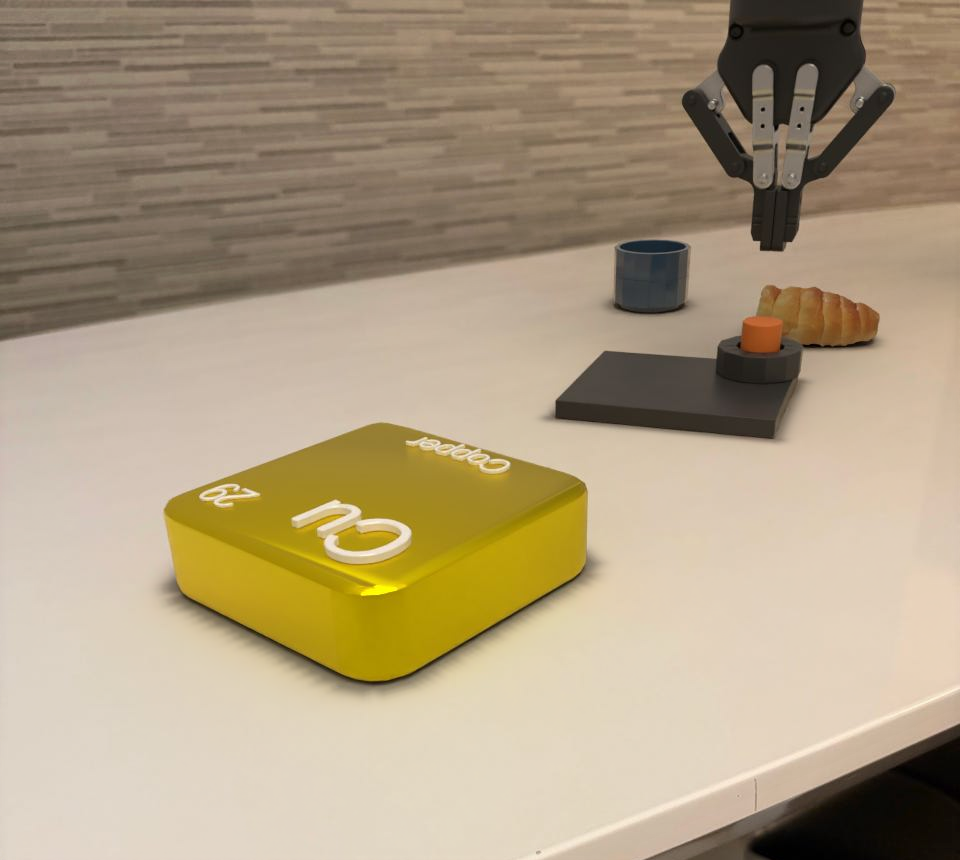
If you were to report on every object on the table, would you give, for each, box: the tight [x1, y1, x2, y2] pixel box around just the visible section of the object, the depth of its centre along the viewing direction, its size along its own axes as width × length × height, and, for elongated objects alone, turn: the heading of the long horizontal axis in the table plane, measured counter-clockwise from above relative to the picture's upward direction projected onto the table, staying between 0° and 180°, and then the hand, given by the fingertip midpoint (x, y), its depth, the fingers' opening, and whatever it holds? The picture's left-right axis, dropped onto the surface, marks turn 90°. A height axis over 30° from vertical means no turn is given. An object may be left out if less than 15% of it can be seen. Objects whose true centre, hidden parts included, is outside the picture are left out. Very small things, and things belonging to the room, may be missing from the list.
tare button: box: [740, 315, 783, 353], centre depth 73 cm, size 3×3×2 cm
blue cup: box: [612, 238, 692, 314], centre depth 94 cm, size 6×6×5 cm
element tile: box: [162, 422, 589, 683], centre depth 50 cm, size 15×15×5 cm
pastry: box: [755, 284, 881, 348], centre depth 84 cm, size 9×7×4 cm
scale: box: [554, 335, 804, 439], centre depth 72 cm, size 14×12×3 cm
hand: (772, 248), depth 70 cm, fingers closed
